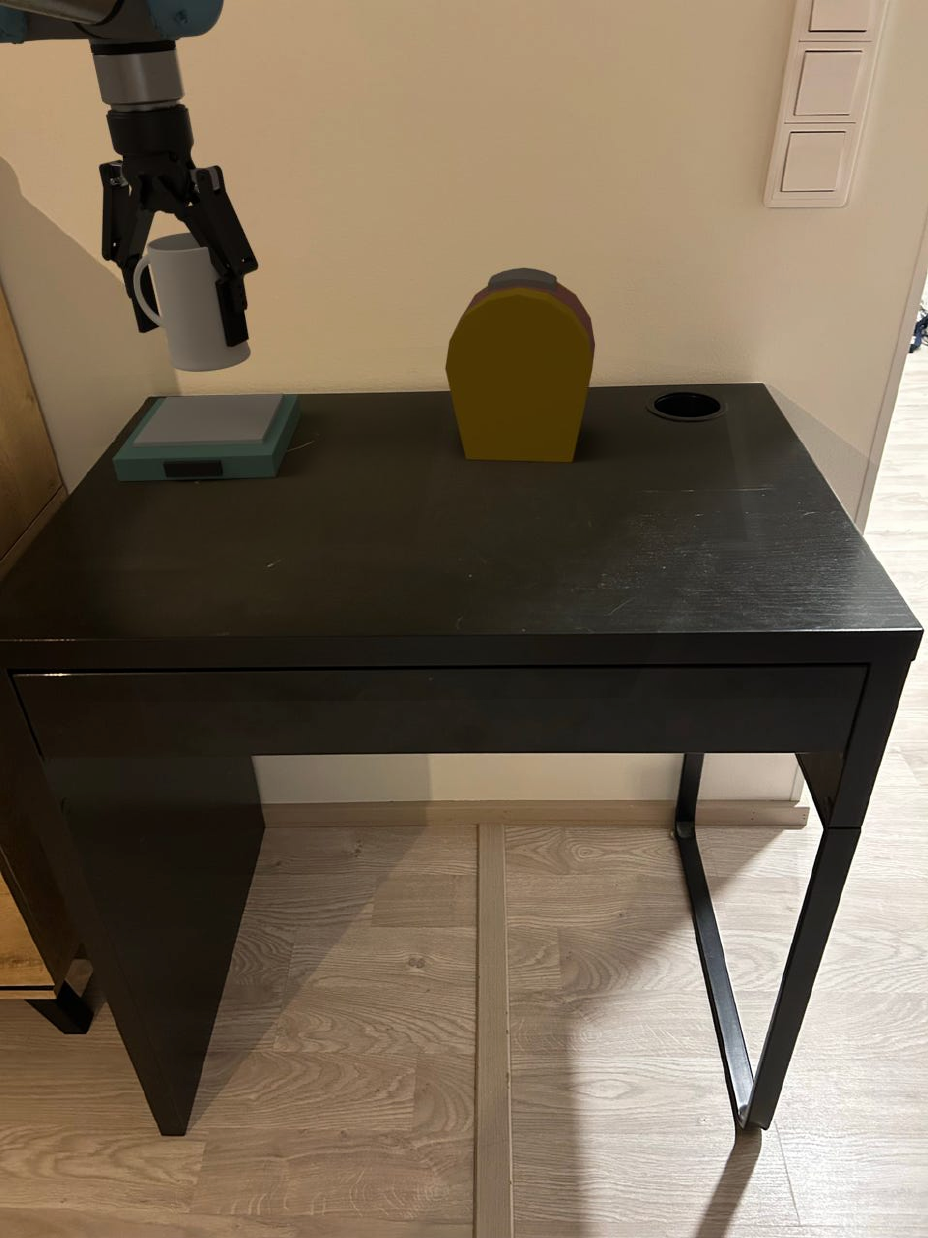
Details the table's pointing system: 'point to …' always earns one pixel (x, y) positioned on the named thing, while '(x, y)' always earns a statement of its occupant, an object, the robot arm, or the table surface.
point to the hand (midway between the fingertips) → (193, 335)
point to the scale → (210, 438)
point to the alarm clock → (521, 369)
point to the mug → (188, 304)
